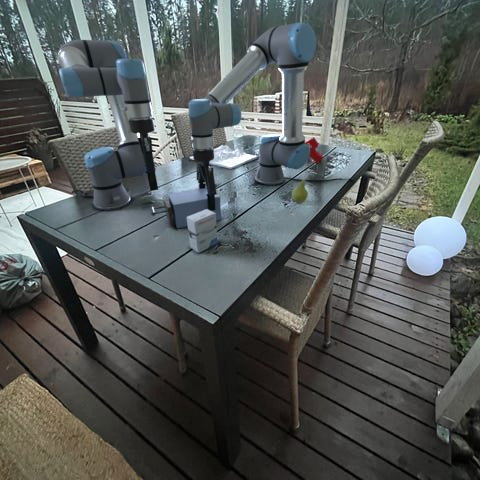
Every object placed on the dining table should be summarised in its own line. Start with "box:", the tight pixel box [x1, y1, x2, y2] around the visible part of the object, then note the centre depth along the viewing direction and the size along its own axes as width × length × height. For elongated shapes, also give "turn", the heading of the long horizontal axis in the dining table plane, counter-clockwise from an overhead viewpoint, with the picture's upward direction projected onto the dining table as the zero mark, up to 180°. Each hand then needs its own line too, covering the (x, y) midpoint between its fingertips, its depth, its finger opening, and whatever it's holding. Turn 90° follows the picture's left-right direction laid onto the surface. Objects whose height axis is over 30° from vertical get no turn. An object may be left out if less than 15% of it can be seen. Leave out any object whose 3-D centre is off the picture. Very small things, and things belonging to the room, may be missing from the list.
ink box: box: [187, 209, 219, 254], centre depth 89 cm, size 8×5×12 cm, turn 134°
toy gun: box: [305, 136, 324, 165], centre depth 169 cm, size 18×4×15 cm
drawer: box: [149, 196, 176, 227], centre depth 105 cm, size 22×10×8 cm, turn 113°
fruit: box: [291, 174, 311, 204], centre depth 118 cm, size 7×8×12 cm
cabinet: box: [167, 188, 222, 229], centre depth 107 cm, size 18×11×10 cm, turn 113°
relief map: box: [189, 144, 258, 170], centre depth 177 cm, size 27×35×5 cm
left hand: (154, 189), depth 97 cm, fingers closed
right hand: (207, 204), depth 109 cm, fingers closed on cabinet, 11 cm apart
